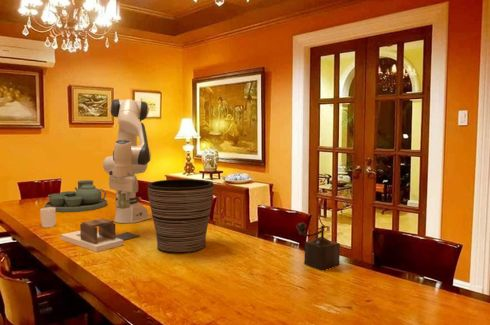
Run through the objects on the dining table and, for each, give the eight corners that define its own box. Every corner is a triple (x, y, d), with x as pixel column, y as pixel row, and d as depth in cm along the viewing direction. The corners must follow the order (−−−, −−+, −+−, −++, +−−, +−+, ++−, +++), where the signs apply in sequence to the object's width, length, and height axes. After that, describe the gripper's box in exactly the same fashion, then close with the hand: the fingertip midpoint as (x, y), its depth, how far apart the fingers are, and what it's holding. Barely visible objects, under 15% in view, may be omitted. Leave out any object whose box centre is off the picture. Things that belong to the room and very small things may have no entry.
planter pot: (150, 259, 173) (149, 189, 170) (147, 240, 202) (146, 180, 199) (219, 253, 181) (219, 186, 178) (207, 236, 210) (207, 178, 207)
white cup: (50, 228, 225) (49, 210, 224) (37, 227, 227) (36, 209, 226) (59, 224, 233) (58, 207, 232) (47, 224, 234) (46, 206, 233)
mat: (127, 232, 216) (127, 232, 216) (140, 236, 209) (140, 235, 209) (108, 237, 207) (108, 236, 207) (121, 241, 200) (121, 240, 200)
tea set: (45, 204, 295) (44, 181, 294) (103, 200, 312) (102, 178, 311) (44, 215, 259) (43, 189, 258) (110, 209, 277) (109, 185, 275)
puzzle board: (87, 233, 214) (87, 229, 213) (123, 245, 193) (123, 239, 193) (61, 239, 203) (60, 234, 202) (96, 252, 183) (96, 246, 182)
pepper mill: (319, 258, 175) (320, 217, 173) (340, 265, 166) (341, 222, 165) (293, 266, 165) (294, 222, 164) (313, 274, 157) (314, 228, 155)
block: (118, 207, 206) (118, 194, 206) (125, 206, 209) (124, 193, 209) (123, 208, 204) (122, 194, 203) (129, 207, 207) (129, 193, 206)
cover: (101, 234, 202) (101, 218, 201) (115, 238, 195) (115, 221, 194) (80, 238, 194) (80, 221, 193) (94, 243, 186) (94, 225, 185)
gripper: (141, 173, 201) (141, 201, 202) (117, 170, 214) (117, 196, 215) (130, 174, 196) (131, 202, 197) (106, 171, 209) (107, 198, 210)
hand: (123, 199), depth 206 cm, fingers closed on block, 4 cm apart
